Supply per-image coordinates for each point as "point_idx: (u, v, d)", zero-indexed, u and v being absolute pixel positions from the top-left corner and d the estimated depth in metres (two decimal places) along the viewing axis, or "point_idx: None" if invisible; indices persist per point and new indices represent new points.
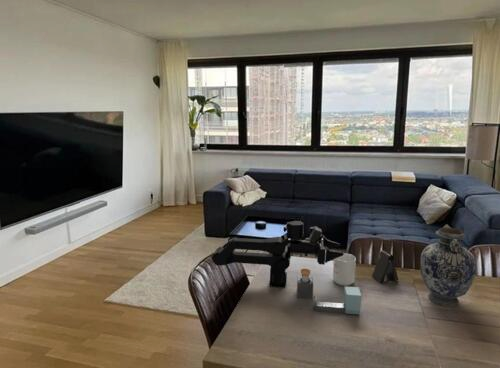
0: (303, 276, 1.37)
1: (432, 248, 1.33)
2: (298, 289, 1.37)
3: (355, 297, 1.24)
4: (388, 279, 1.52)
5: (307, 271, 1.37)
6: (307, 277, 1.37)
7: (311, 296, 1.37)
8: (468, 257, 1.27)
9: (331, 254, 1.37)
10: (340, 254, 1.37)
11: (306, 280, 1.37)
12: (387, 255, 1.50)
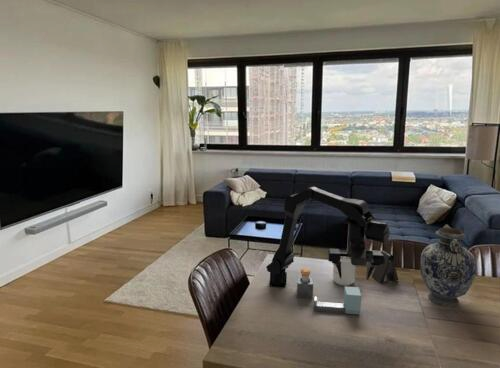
0: (303, 276, 1.37)
1: (432, 248, 1.33)
2: (298, 289, 1.37)
3: (355, 297, 1.24)
4: (388, 279, 1.52)
5: (307, 271, 1.37)
6: (307, 277, 1.37)
7: (311, 296, 1.37)
8: (468, 257, 1.27)
9: None
10: (339, 274, 1.26)
11: (306, 280, 1.37)
12: (387, 255, 1.50)
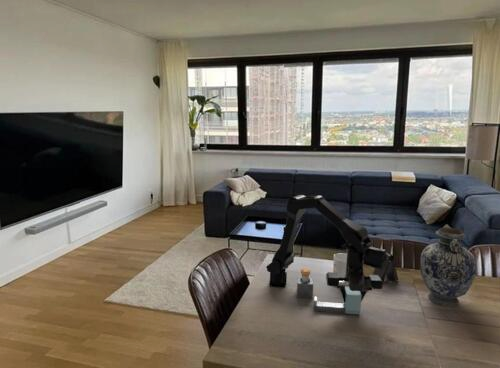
0: (303, 276, 1.37)
1: (432, 248, 1.33)
2: (298, 289, 1.37)
3: (355, 297, 1.24)
4: (388, 279, 1.52)
5: (307, 271, 1.37)
6: (307, 277, 1.37)
7: (311, 296, 1.37)
8: (468, 257, 1.27)
9: None
10: (343, 298, 1.28)
11: (306, 280, 1.37)
12: (387, 255, 1.50)
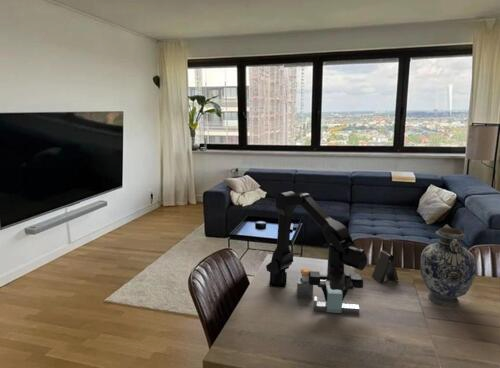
0: (303, 276, 1.37)
1: (432, 248, 1.33)
2: (298, 289, 1.37)
3: (336, 295, 1.25)
4: (388, 279, 1.52)
5: (307, 271, 1.37)
6: (307, 277, 1.37)
7: (311, 296, 1.37)
8: (468, 257, 1.27)
9: None
10: None
11: (306, 280, 1.37)
12: (387, 255, 1.50)
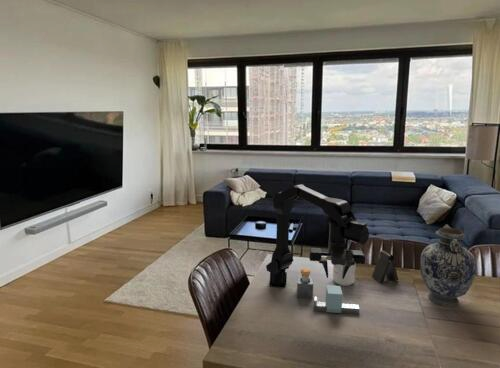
0: (303, 276, 1.37)
1: (432, 248, 1.33)
2: (298, 289, 1.37)
3: (336, 295, 1.25)
4: (388, 279, 1.52)
5: (307, 271, 1.37)
6: (307, 277, 1.37)
7: (311, 296, 1.37)
8: (468, 257, 1.27)
9: None
10: None
11: (306, 280, 1.37)
12: (387, 255, 1.50)
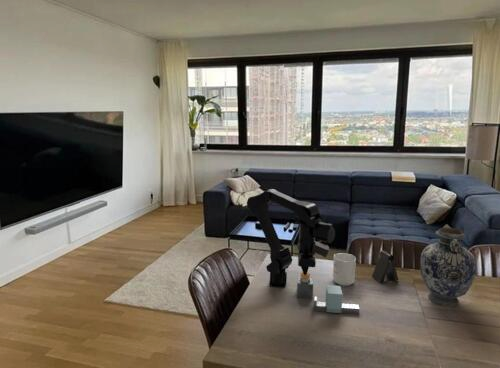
0: (303, 280, 1.38)
1: (432, 248, 1.33)
2: (298, 289, 1.37)
3: (336, 295, 1.25)
4: (388, 279, 1.52)
5: (307, 275, 1.38)
6: (307, 281, 1.38)
7: (311, 296, 1.37)
8: (468, 257, 1.27)
9: None
10: (305, 272, 1.37)
11: None
12: (387, 255, 1.50)
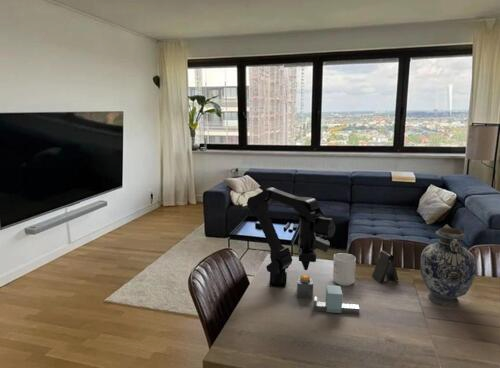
0: None
1: (432, 248, 1.33)
2: (298, 289, 1.37)
3: (336, 295, 1.25)
4: (388, 279, 1.52)
5: (307, 277, 1.38)
6: None
7: (311, 296, 1.37)
8: (468, 257, 1.27)
9: None
10: (305, 267, 1.37)
11: None
12: (387, 255, 1.50)
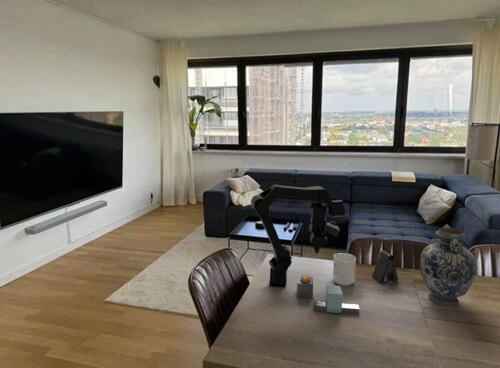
0: None
1: (432, 248, 1.33)
2: (298, 289, 1.37)
3: (336, 295, 1.25)
4: (388, 279, 1.52)
5: (307, 277, 1.38)
6: None
7: (311, 296, 1.37)
8: (468, 257, 1.27)
9: (317, 243, 1.47)
10: (316, 251, 1.48)
11: None
12: (387, 255, 1.50)
